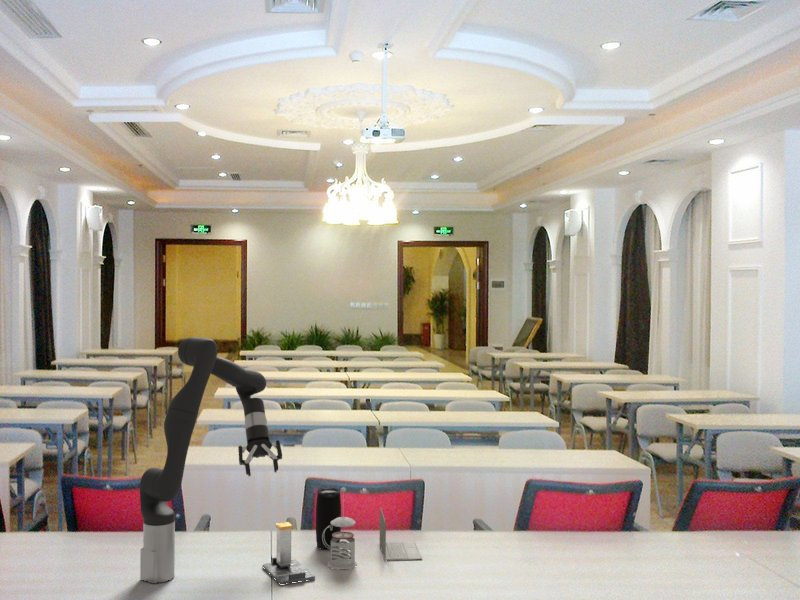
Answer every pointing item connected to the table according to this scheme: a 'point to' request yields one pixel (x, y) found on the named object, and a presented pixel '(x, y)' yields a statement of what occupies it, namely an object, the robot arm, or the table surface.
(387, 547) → the laptop
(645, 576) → the table surface
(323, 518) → the portable speaker
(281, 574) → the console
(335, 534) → the french press
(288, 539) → the fader handle
